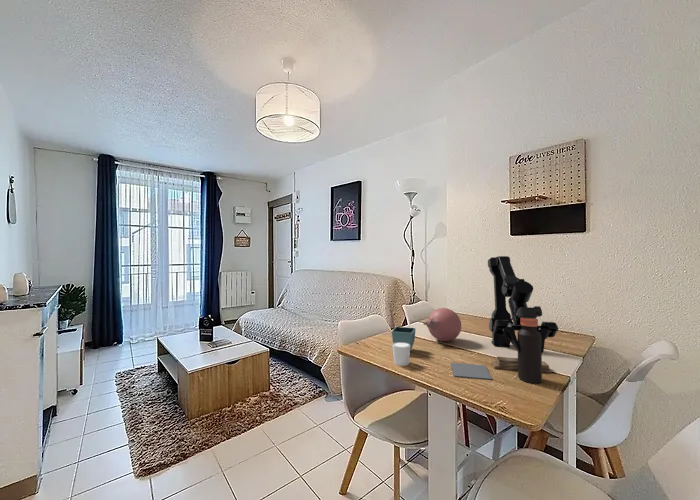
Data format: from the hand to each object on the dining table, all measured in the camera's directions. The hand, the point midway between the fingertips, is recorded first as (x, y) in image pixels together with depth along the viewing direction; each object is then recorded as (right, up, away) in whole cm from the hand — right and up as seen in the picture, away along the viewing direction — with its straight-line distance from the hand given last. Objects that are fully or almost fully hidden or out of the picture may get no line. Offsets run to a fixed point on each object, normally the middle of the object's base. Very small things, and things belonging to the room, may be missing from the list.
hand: (530, 351), depth 97 cm
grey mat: (-16, -10, +8) cm, 21 cm away
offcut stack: (+3, -10, +11) cm, 15 cm away
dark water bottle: (0, -10, +1) cm, 10 cm away
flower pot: (-35, -10, +32) cm, 49 cm away
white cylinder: (-39, -10, +17) cm, 44 cm away
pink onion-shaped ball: (-16, -10, +44) cm, 48 cm away
